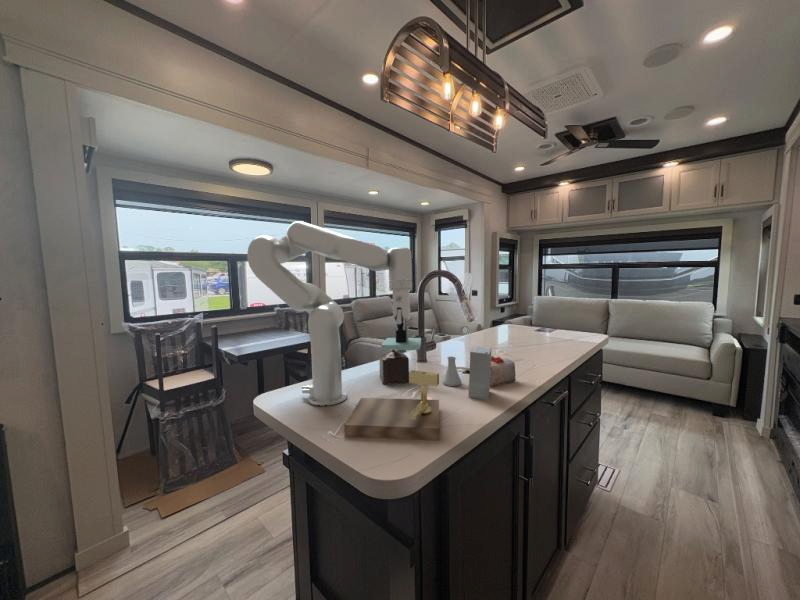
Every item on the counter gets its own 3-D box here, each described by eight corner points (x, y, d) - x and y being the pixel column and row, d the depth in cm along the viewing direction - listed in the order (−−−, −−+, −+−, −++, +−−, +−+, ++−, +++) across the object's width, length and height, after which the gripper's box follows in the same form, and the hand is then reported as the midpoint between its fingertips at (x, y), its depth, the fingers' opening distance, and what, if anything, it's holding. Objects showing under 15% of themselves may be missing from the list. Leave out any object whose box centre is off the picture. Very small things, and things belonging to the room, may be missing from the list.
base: (344, 436, 79) (344, 424, 79) (361, 407, 97) (361, 397, 97) (439, 440, 76) (439, 428, 76) (438, 409, 94) (438, 399, 94)
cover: (381, 349, 98) (380, 329, 98) (387, 342, 110) (386, 323, 110) (419, 349, 97) (418, 329, 96) (421, 342, 109) (420, 323, 108)
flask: (461, 387, 113) (461, 360, 113) (441, 386, 115) (441, 359, 114) (461, 380, 120) (461, 355, 120) (442, 380, 122) (442, 354, 121)
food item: (490, 389, 111) (490, 362, 110) (475, 382, 118) (475, 357, 117) (517, 382, 117) (517, 357, 116) (502, 377, 124) (502, 352, 123)
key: (427, 428, 76) (426, 385, 75) (397, 422, 79) (396, 381, 78) (440, 410, 86) (440, 372, 85) (413, 406, 89) (412, 369, 88)
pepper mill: (383, 385, 117) (382, 338, 116) (379, 376, 128) (378, 333, 126) (423, 381, 120) (422, 335, 119) (415, 373, 131) (415, 331, 130)
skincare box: (471, 389, 111) (470, 345, 110) (492, 391, 108) (492, 346, 107) (467, 398, 103) (467, 350, 102) (490, 400, 100) (490, 352, 99)
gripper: (409, 286, 94) (411, 346, 95) (413, 285, 110) (414, 336, 111) (385, 286, 94) (386, 346, 96) (392, 285, 111) (394, 336, 112)
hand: (401, 340), depth 103 cm, fingers closed on cover, 3 cm apart
